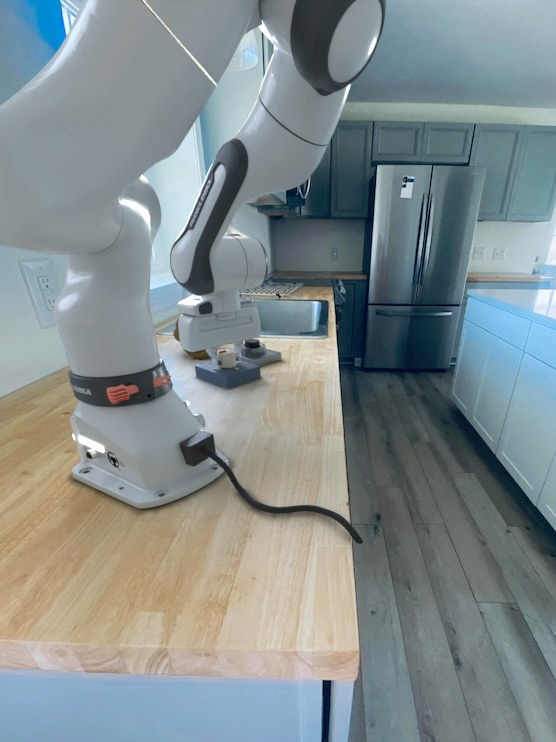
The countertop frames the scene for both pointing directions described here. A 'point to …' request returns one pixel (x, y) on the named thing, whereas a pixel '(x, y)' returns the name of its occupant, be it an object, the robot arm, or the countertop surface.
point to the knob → (227, 358)
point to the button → (252, 343)
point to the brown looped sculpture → (197, 355)
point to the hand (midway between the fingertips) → (226, 362)
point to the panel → (228, 374)
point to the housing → (259, 355)
